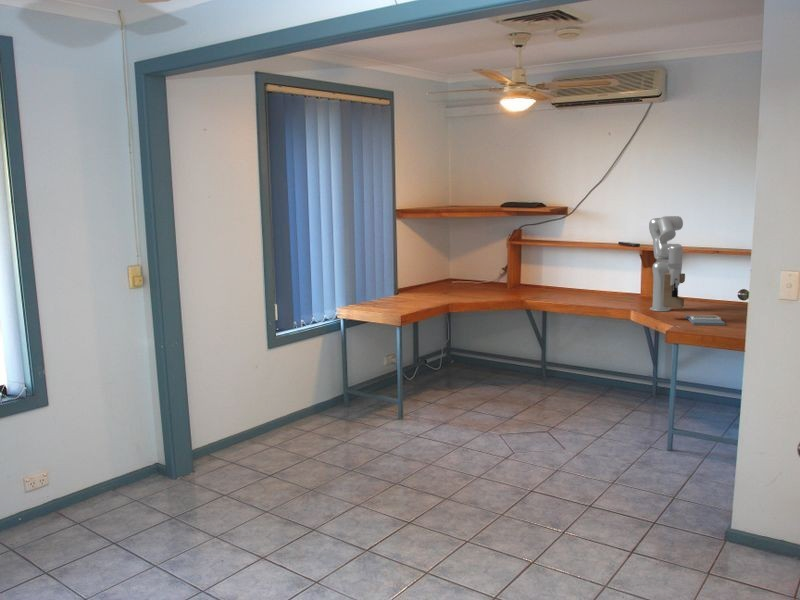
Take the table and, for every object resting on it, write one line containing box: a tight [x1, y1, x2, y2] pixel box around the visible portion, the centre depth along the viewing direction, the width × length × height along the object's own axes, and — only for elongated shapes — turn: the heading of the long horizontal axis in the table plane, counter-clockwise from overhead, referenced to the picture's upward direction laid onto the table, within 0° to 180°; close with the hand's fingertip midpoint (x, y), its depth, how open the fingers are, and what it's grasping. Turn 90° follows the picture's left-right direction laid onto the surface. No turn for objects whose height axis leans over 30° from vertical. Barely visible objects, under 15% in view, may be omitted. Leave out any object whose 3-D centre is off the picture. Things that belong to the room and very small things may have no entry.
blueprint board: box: [684, 314, 726, 326], centre depth 401 cm, size 24×17×2 cm
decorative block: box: [663, 272, 686, 309], centre depth 407 cm, size 11×6×20 cm, turn 57°
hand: (673, 295), depth 408 cm, fingers closed on decorative block, 6 cm apart
